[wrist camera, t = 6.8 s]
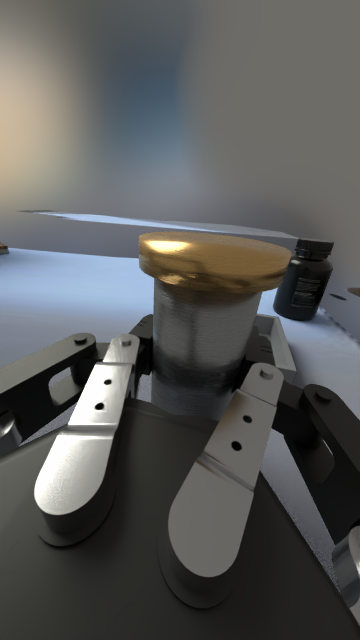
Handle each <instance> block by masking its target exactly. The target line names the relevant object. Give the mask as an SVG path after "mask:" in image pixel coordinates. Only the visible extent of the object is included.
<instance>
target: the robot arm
mask: <svg viewBox="0 0 360 640" xmlns="http://www.w3.org/2000/svg"><path fill="white" fill-rule="evenodd" d="M152 350H153V315H152V314H149V315H147V316H145V317H143V319H142V320H141V321H140V322H139V323H138V324H137V325H136V326H135V327H134V328H133V329H132V330H131V331H130V333H129V334H122V335H118V336H116V337H114V338H113V339H112V341H111V343H96V339H95V336H94V335H92V334H89V333H78V334H74V335H72V336H69V337H67V338H65V339H63V340H61V341H59V342H56V343H54V344H52V345H50V346H48V347H46V348H43V349H41V350H39V351H37V352H35V353H33V354H30V355H28V356H26V357H24V358H22V359H20V360H18V361H15V362H13V363H11V364H9V365H7V366H5V367H2V368H0V640H360V420H359V419H358V418H357V417H356V416H355V415H354V413H353V412H352V411H351V410H350V409H349V408H348V407H347V405H346V404H345V403H344V402H343V401H342V400H341V398H340V397H339V396H338V395H337V394H335V393H334V392H333V391H331V390H330V389H328V388H326V387H323V386H320V385H316V384H309V385H306V386H305V387H304V389H303V390H302V389H300V388H298V387H296V386H293V385H291V384H289V383H288V382H286V381H285V380H283V379H284V376H283V374H282V372H281V371H280V370H279V369H278V368H276V365H275V360H274V355H273V350H272V345H271V342H270V341H269V339H268V338H267V337H266V336H261V335H259V330H258V326H253V328H252V332H251V336H250V340H249V343H248V347H247V351H246V354H245V357H244V361H243V365H242V369H241V372H240V376H239V380H238V384H237V387H236V392H235V393H234V395H233V397H232V399H231V401H230V403H229V405H228V406H227V408H226V410H225V412H224V414H223V416H222V417H221V419H220V421H215V420H212V419H208V418H204V417H201V416H187V415H173V414H170V413H168V412H166V411H164V410H163V409H161V408H159V407H157V406H155V405H153V404H152V403H149V402H146V401H142V400H138V399H137V398H138V392H139V385H140V377H141V376H142V374H145V375H150V373H151V371H152ZM68 367H70V370H71V375H69V376H67V377H66V378H64V379H62V380H61V381H59V382H58V383H56V384H54V385H53V386H51V387H49V386H48V384H49V381H50V379H51V378H52V377H53V376H54V375H56V374H58V373H59V372H61V371H63V370H65V369H66V368H68ZM76 402H78V404H77V406H76V408H75V410H74V412H73V415H72V417H71V419H70V421H69V423H67V424H65V425H63V426H61V427H59V428H57V429H55V430H53V431H51V432H49V433H47V434H45V435H43V436H41V437H39V438H36V439H34V440H32V441H30V442H28V443H26V444H24V445H22V446H20V447H19V445H20V444H21V443H22V442H23V441H25V440H26V439H28V438H29V437H30V436H32V435H33V434H34V433H36V432H37V431H38V430H40V429H41V428H42V427H44V426H45V425H46V424H48V423H49V422H51V421H52V420H53V419H55V418H56V417H57V416H59V415H60V414H61V413H63V412H64V411H65V410H67V409H68V408H69V407H71V406H72V405H74V404H75V403H76ZM271 428H272V429H274V430H276V431H278V432H279V433H281V434H283V435H284V439H285V441H286V444H287V446H288V448H289V450H290V452H291V454H292V456H293V458H294V460H295V462H296V464H297V466H298V469H299V471H300V473H301V475H302V477H303V479H304V481H305V483H306V485H307V487H308V489H309V492H310V494H311V496H312V498H313V500H314V502H315V504H316V506H317V508H318V510H319V512H320V514H321V517H322V519H323V521H324V523H325V525H326V527H327V529H328V531H329V533H330V535H331V537H332V539H333V542H334V544H335V547H334V549H333V553H332V563H333V568H334V571H335V574H336V577H337V583H338V587H339V589H340V592H341V594H340V593H339V591H338V590H337V588H336V587H335V585H334V584H333V582H332V581H331V579H330V577H329V576H328V574H327V573H326V571H325V570H324V568H323V567H322V565H321V564H320V562H319V560H318V559H317V557H316V556H315V554H314V553H313V551H312V550H311V548H310V547H309V545H308V544H307V542H306V540H305V539H304V537H303V536H302V534H301V533H300V531H299V530H298V528H297V527H296V525H295V524H294V522H293V520H292V519H291V517H290V516H289V514H288V513H287V511H286V510H285V508H284V507H283V505H282V503H281V502H280V500H279V499H278V497H277V496H276V494H275V493H274V491H273V490H272V488H271V487H270V485H269V483H268V482H267V480H266V479H265V477H264V476H263V474H262V473H261V471H260V466H261V463H262V459H263V456H264V452H265V448H266V445H267V441H268V438H269V434H270V431H271ZM323 440H324V441H325V442H326V444H327V445H328V447H329V449H330V450H331V452H332V454H333V456H334V457H333V456H332V454H331V452H330V451H329V449H328V448H327V446H326V445H325V443H324V441H323Z"/></svg>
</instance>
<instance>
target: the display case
mask: <svg viewBox="0 0 360 640" xmlns="http://www.w3.org/2000/svg"><path fill="white" fill-rule="evenodd" d="M7 253H9V251H8V247H7V245H4V244H2V243H0V254H7Z"/></svg>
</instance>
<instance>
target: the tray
mask: <svg viewBox="0 0 360 640" xmlns="http://www.w3.org/2000/svg"><path fill="white" fill-rule="evenodd" d="M253 326H258V330H259V335H261V336H266V337H267V338H268V339H269V341H270V342H271V345H272V350H273V355H274V360H275V365H276V368H278V369H279V370H280V371H281V372H282V374H283V376H284V379H283V380H285V381H286V382H288V383H289V384H291V385H292V382H293V380H294V377H295V375H296V372H297V370H296V367H295V364H294V361H293V358H292V355H291V352H290V349H289V346H288V343H287V340H286V337H285V334H284V331H283V328H282V325H281V322H280V319H279V317H275V316H269V315H263V314H256V317H255V321H254V325H253Z"/></svg>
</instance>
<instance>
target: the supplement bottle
mask: <svg viewBox="0 0 360 640" xmlns="http://www.w3.org/2000/svg"><path fill="white" fill-rule="evenodd" d="M333 245H334V242H332V241H327V240H319V239H310V238H299V239H298V242H297V245H296V247H295V251H296V253H295V255H292V256H291V258H290V261H289V264H288V267H287V271H286V274H285V277H284V280H283V283H282V285H281V286H279V287H278V289H277V292H276V296H275V300H274V304H273V309H274V310H275V311H276V312H277V313H278V314H280V315H282V316H284V317H287V318H291V319H295V320H310V319H312V318H314V317H315V315H316V313H317V310H318V308H319V305H320V302H321V300H322V297H323V294H324V291H325V289H326V286H327V283H328V281H329V278H330V276H331V273H332V270H333V265H332V263H331V262H330V261H329V260H328V259H327V257H328V255H330V254H331V250H332V248H333Z"/></svg>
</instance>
